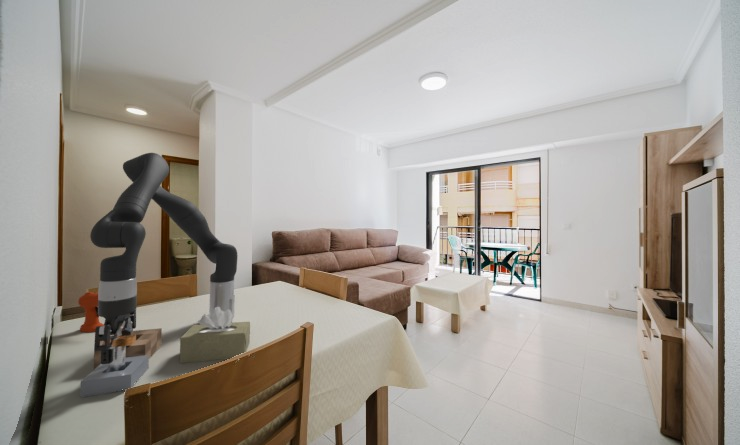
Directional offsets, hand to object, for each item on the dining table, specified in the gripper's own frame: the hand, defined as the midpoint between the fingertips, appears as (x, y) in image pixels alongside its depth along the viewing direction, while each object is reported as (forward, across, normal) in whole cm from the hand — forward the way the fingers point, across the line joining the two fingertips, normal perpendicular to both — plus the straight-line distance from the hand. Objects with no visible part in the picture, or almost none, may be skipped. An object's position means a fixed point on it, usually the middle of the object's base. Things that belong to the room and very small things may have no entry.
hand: (116, 354), depth 71 cm
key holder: (+7, 0, 0) cm, 7 cm away
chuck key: (+7, 0, 0) cm, 7 cm away
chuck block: (+7, +14, +3) cm, 16 cm away
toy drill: (+8, +40, +22) cm, 46 cm away
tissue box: (+8, +10, -22) cm, 26 cm away
